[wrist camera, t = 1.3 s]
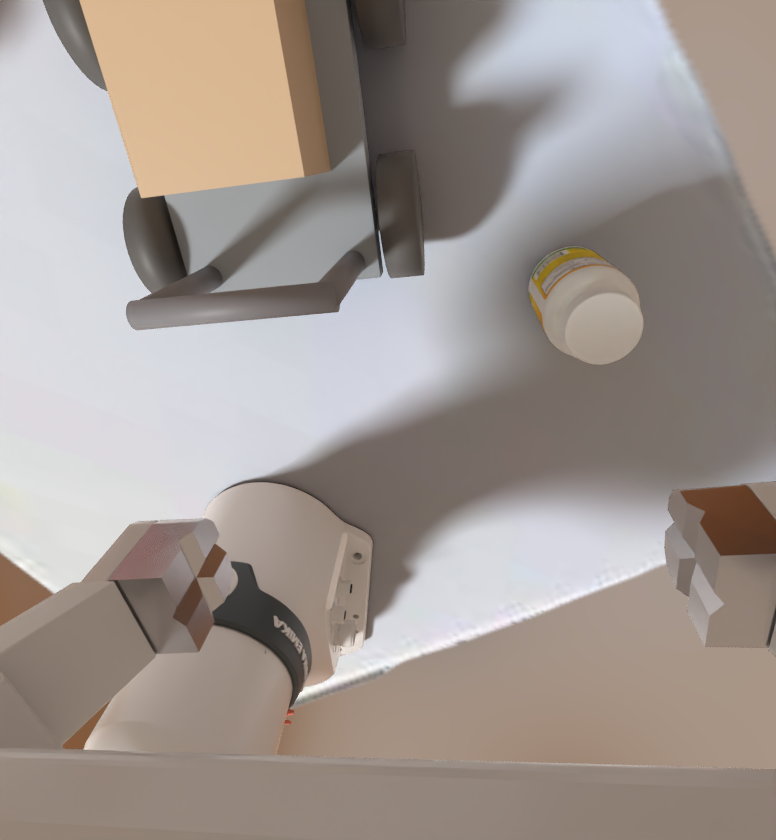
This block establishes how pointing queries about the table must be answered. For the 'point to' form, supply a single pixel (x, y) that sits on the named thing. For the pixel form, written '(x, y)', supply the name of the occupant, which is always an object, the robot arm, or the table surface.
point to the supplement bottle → (586, 305)
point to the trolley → (248, 152)
